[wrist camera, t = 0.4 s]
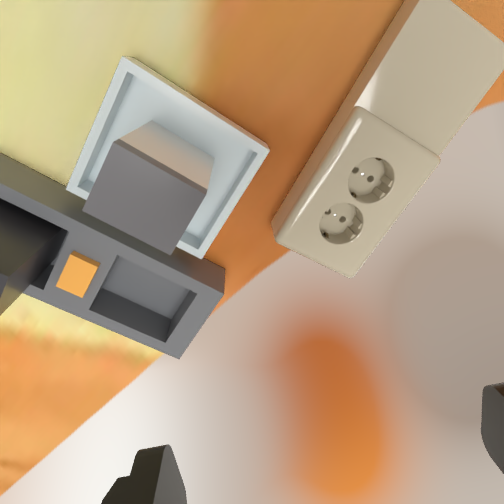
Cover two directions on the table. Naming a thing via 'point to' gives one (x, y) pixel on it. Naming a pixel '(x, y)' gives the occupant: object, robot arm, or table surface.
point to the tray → (183, 125)
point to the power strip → (124, 273)
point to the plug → (151, 186)
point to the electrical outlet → (388, 133)
